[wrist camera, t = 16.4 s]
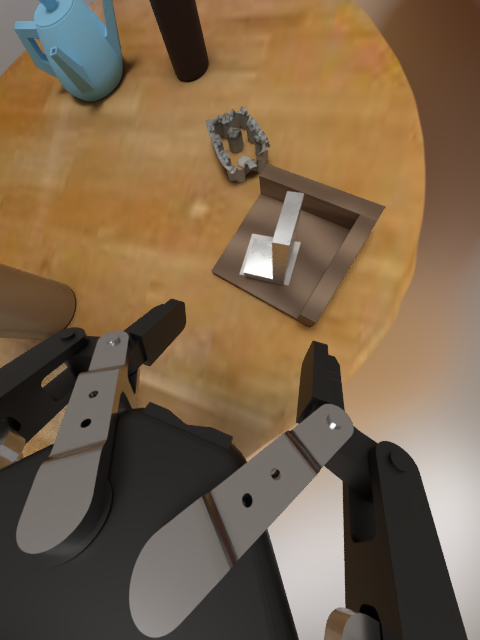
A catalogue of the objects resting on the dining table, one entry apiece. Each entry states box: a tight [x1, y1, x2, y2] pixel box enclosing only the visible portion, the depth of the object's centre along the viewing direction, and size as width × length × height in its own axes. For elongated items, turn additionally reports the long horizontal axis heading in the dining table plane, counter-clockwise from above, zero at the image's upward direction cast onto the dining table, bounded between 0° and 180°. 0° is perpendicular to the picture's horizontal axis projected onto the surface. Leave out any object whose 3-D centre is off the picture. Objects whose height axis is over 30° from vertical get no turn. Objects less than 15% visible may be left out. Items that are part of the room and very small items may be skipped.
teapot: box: [14, 0, 123, 102], centre depth 36 cm, size 15×15×11 cm
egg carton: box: [206, 107, 270, 183], centre depth 30 cm, size 11×8×4 cm
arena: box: [212, 164, 385, 327], centre depth 26 cm, size 16×16×4 cm
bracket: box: [243, 191, 304, 285], centre depth 22 cm, size 6×5×10 cm
